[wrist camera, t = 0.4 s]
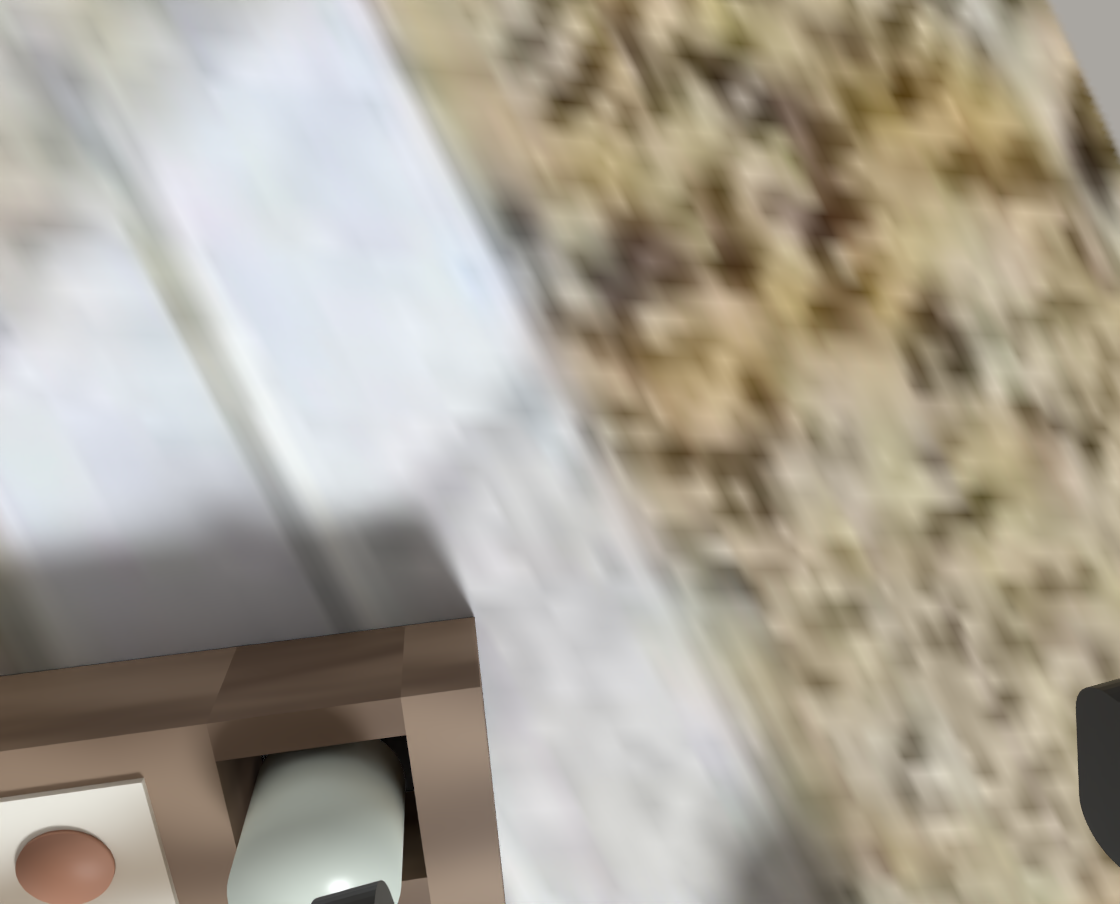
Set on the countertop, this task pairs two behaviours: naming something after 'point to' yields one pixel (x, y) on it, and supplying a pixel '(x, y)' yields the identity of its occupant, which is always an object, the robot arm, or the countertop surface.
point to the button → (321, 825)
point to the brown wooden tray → (236, 763)
